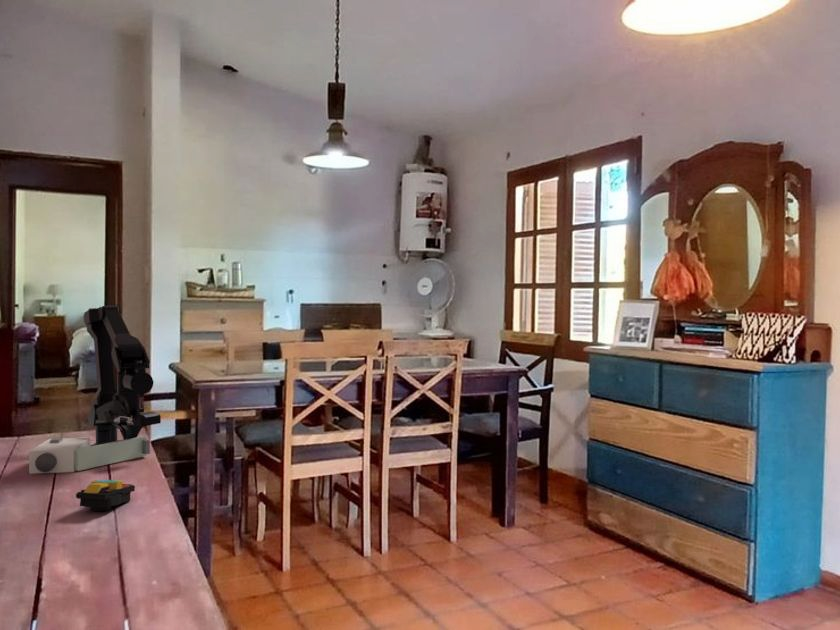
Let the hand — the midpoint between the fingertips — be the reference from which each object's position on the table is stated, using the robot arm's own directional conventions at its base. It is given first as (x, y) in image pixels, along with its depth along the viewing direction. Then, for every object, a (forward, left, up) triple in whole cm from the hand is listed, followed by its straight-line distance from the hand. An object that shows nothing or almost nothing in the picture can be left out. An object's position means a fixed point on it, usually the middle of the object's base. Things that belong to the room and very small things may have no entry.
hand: (129, 448), depth 188 cm
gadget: (+43, +6, -3) cm, 43 cm away
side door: (+7, -2, -2) cm, 7 cm away
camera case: (+6, -15, -3) cm, 16 cm away
